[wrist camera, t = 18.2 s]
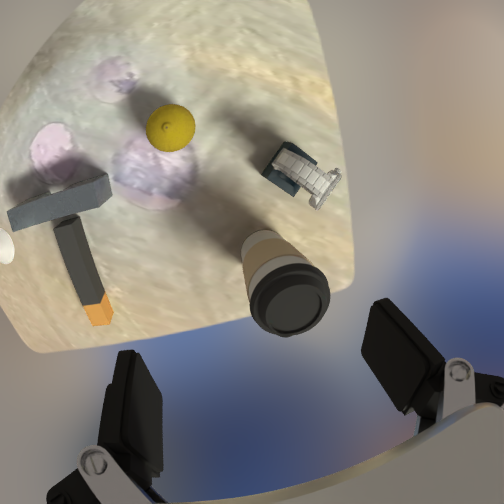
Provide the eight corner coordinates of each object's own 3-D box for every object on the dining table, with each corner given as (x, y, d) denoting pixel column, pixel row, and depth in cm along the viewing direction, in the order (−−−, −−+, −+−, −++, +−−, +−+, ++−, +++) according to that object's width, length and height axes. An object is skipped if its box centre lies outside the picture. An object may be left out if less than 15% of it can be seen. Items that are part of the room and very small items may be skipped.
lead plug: (62, 221, 32) (53, 229, 29) (80, 216, 32) (71, 224, 30) (97, 314, 39) (92, 326, 36) (113, 312, 40) (109, 324, 37)
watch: (296, 199, 38) (331, 225, 28) (250, 167, 35) (272, 183, 25) (319, 167, 36) (361, 183, 27) (274, 133, 33) (306, 135, 23)
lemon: (150, 111, 29) (137, 105, 22) (194, 105, 30) (193, 97, 23) (154, 152, 31) (142, 159, 24) (197, 146, 32) (197, 150, 25)
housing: (26, 199, 29) (6, 211, 24) (108, 174, 31) (93, 182, 26) (31, 218, 30) (12, 232, 25) (112, 195, 32) (99, 207, 27)
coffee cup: (257, 210, 37) (294, 259, 24) (304, 242, 41) (353, 297, 28) (221, 261, 40) (236, 330, 26) (269, 287, 43) (300, 354, 30)
